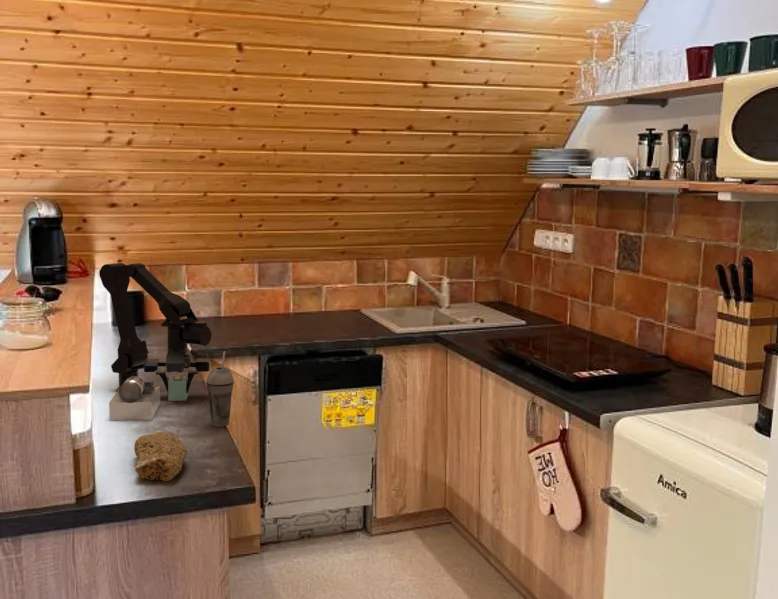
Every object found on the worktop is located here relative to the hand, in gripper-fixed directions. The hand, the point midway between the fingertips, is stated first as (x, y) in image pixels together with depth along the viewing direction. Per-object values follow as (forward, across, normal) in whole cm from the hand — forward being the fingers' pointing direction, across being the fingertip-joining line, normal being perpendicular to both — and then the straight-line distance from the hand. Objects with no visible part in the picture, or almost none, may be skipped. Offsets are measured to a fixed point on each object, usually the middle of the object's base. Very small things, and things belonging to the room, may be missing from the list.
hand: (178, 393), depth 228 cm
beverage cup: (+2, +14, -26) cm, 30 cm away
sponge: (+2, +2, -56) cm, 56 cm away
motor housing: (+2, -10, -13) cm, 16 cm away
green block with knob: (+2, 0, 0) cm, 2 cm away
